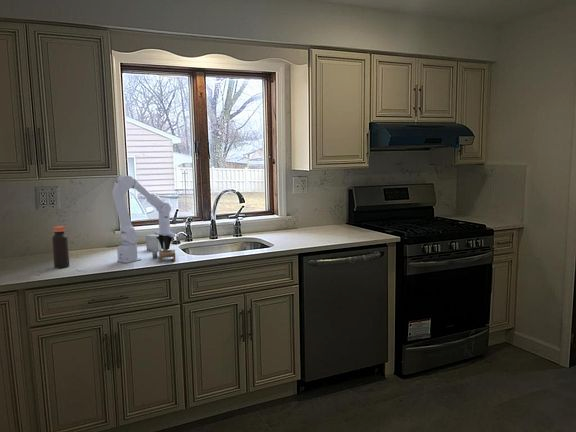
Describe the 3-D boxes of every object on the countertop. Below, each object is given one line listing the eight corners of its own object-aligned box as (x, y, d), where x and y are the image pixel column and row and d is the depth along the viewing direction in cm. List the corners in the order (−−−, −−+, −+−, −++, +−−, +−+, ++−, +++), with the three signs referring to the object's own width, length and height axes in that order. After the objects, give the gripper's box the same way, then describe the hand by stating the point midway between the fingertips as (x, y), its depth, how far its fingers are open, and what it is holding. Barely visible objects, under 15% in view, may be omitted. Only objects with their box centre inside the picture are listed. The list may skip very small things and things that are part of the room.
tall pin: (165, 255, 256) (164, 241, 255) (162, 255, 257) (161, 240, 256) (169, 255, 258) (168, 240, 257) (166, 254, 259) (165, 240, 258)
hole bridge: (175, 261, 241) (175, 253, 241) (159, 262, 239) (159, 253, 239) (175, 258, 250) (174, 249, 249) (159, 258, 248) (159, 250, 247)
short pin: (154, 258, 249) (154, 251, 248) (151, 258, 250) (151, 250, 250) (158, 257, 251) (158, 250, 250) (155, 257, 252) (155, 250, 252)
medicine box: (162, 249, 273) (162, 234, 272) (158, 251, 269) (157, 236, 268) (150, 248, 275) (149, 234, 274) (146, 250, 271) (145, 235, 270)
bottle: (71, 265, 235) (69, 225, 233) (65, 268, 229) (63, 227, 226) (58, 265, 235) (55, 225, 233) (51, 268, 228) (48, 228, 226)
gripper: (179, 224, 254) (180, 249, 256) (161, 222, 263) (162, 246, 264) (168, 226, 249) (169, 251, 250) (151, 224, 257) (152, 248, 259)
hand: (165, 249), depth 257 cm, fingers closed on tall pin, 3 cm apart
